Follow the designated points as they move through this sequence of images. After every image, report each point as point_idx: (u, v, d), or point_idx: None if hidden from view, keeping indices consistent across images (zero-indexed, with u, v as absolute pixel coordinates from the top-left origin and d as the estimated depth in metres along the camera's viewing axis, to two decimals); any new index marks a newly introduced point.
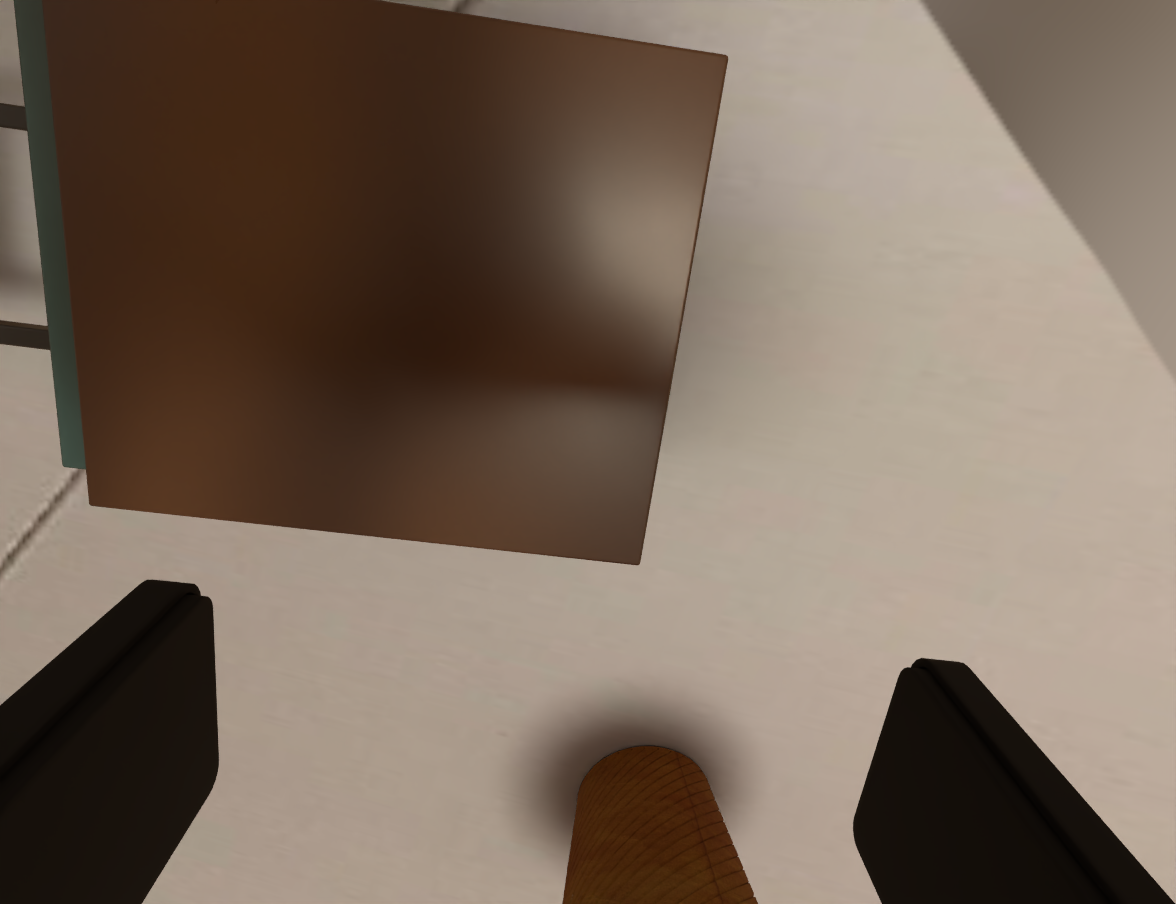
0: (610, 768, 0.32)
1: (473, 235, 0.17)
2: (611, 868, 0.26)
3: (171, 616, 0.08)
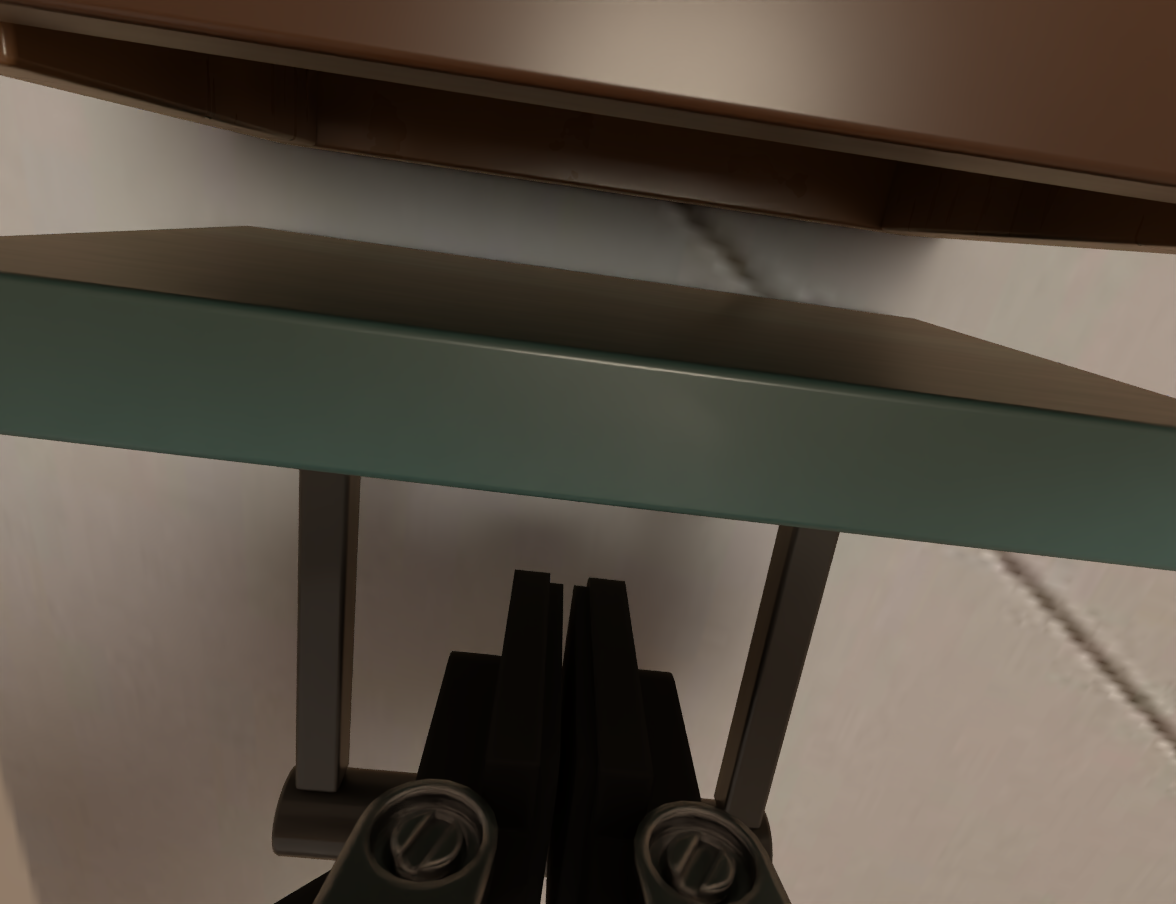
0: None
1: None
2: None
3: (554, 600, 0.10)
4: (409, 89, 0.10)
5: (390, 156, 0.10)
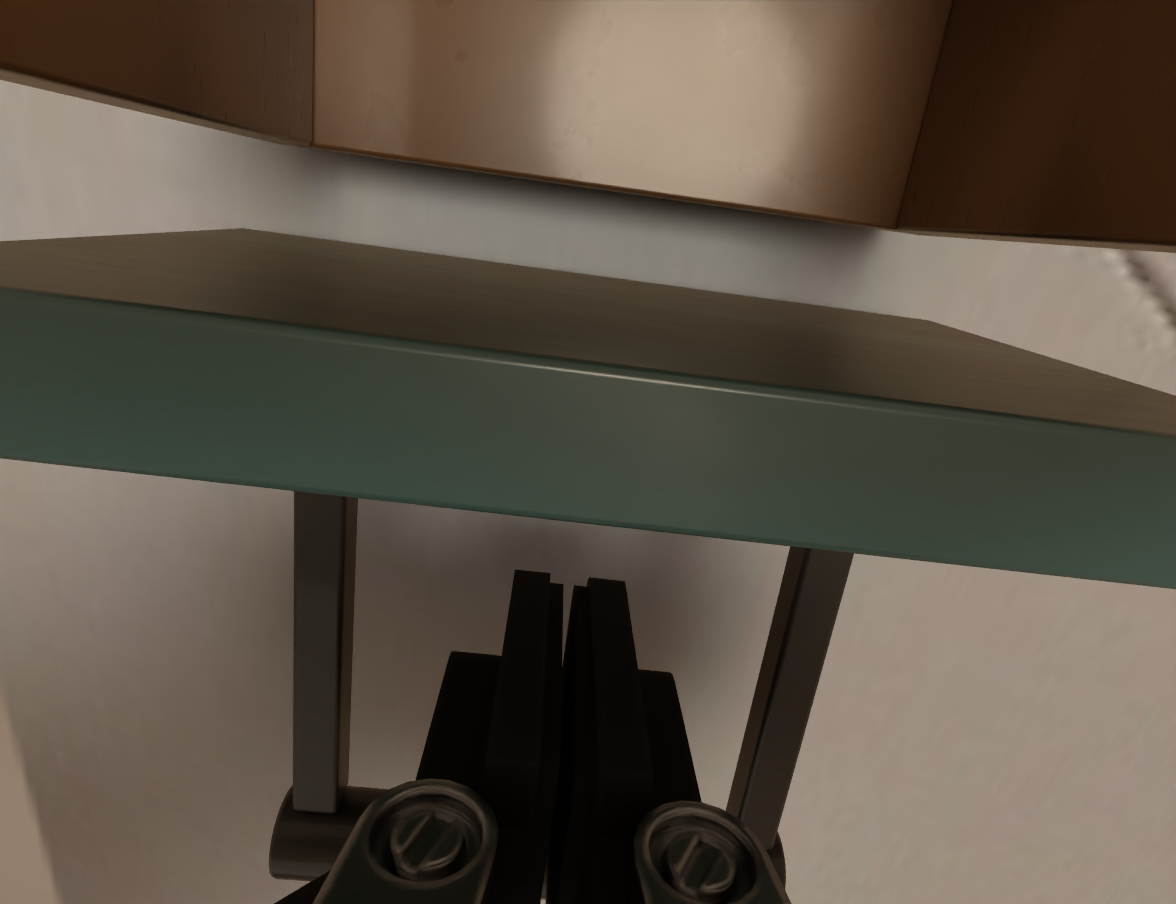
0: None
1: None
2: None
3: (554, 600, 0.10)
4: (407, 86, 0.10)
5: (388, 156, 0.10)
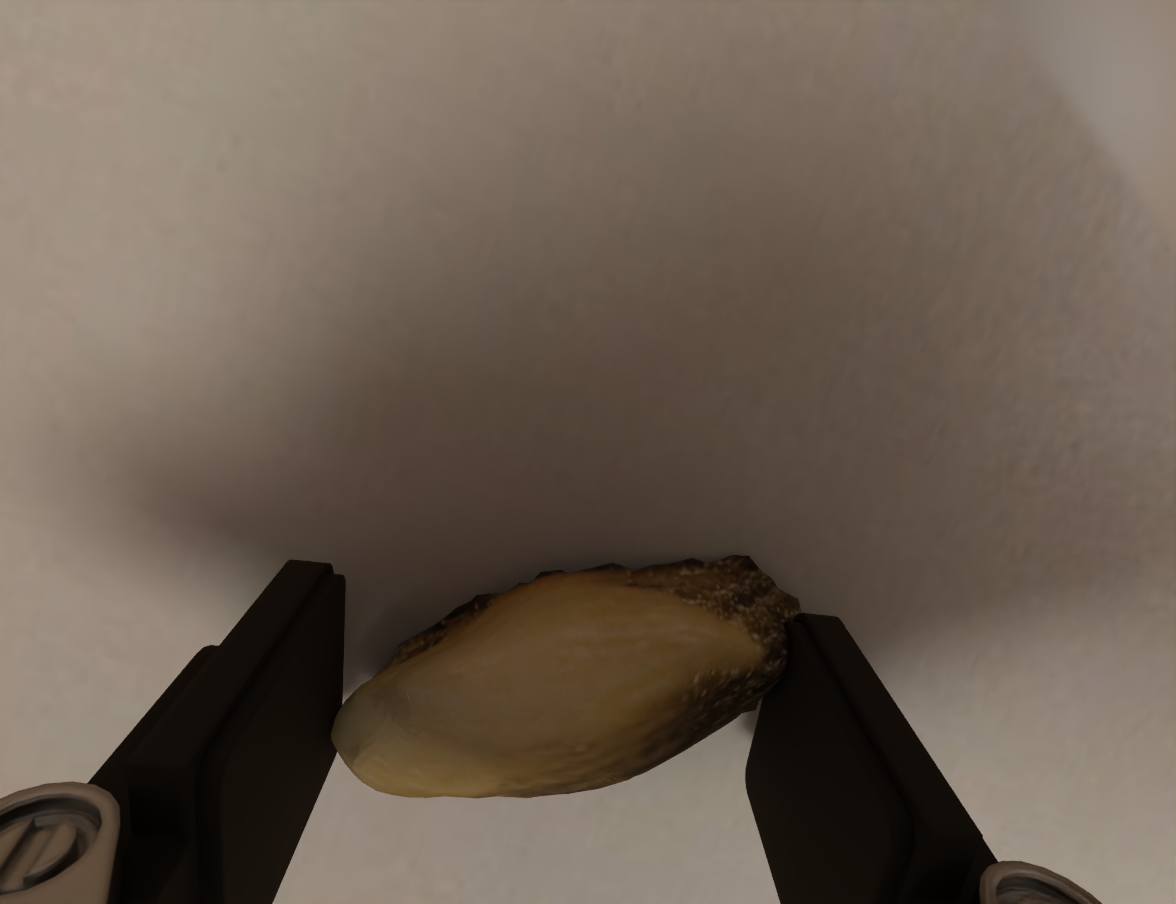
0: None
1: None
2: None
3: (319, 591, 0.09)
4: None
5: None
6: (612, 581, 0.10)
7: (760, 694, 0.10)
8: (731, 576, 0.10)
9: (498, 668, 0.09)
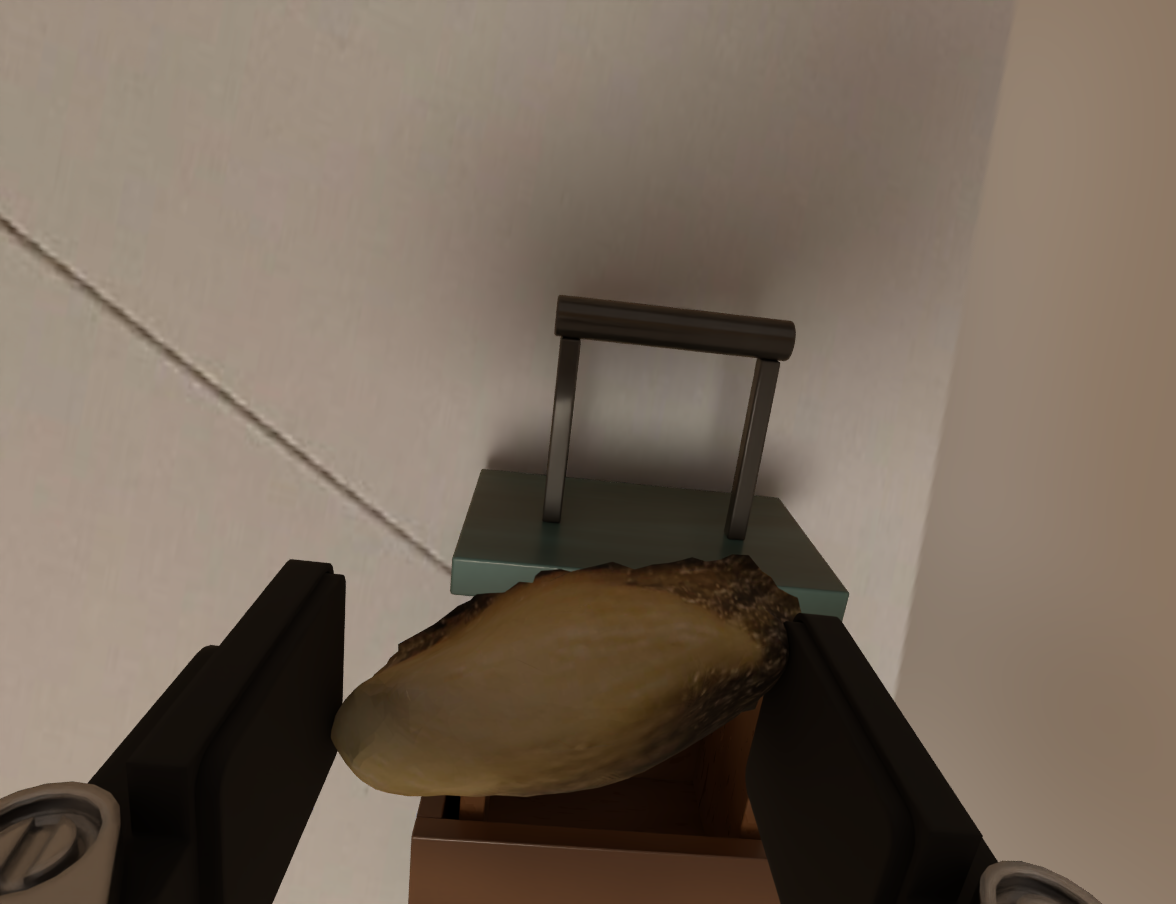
0: None
1: None
2: None
3: (319, 591, 0.09)
4: None
5: None
6: (612, 581, 0.10)
7: (760, 693, 0.10)
8: (731, 574, 0.10)
9: (498, 667, 0.09)
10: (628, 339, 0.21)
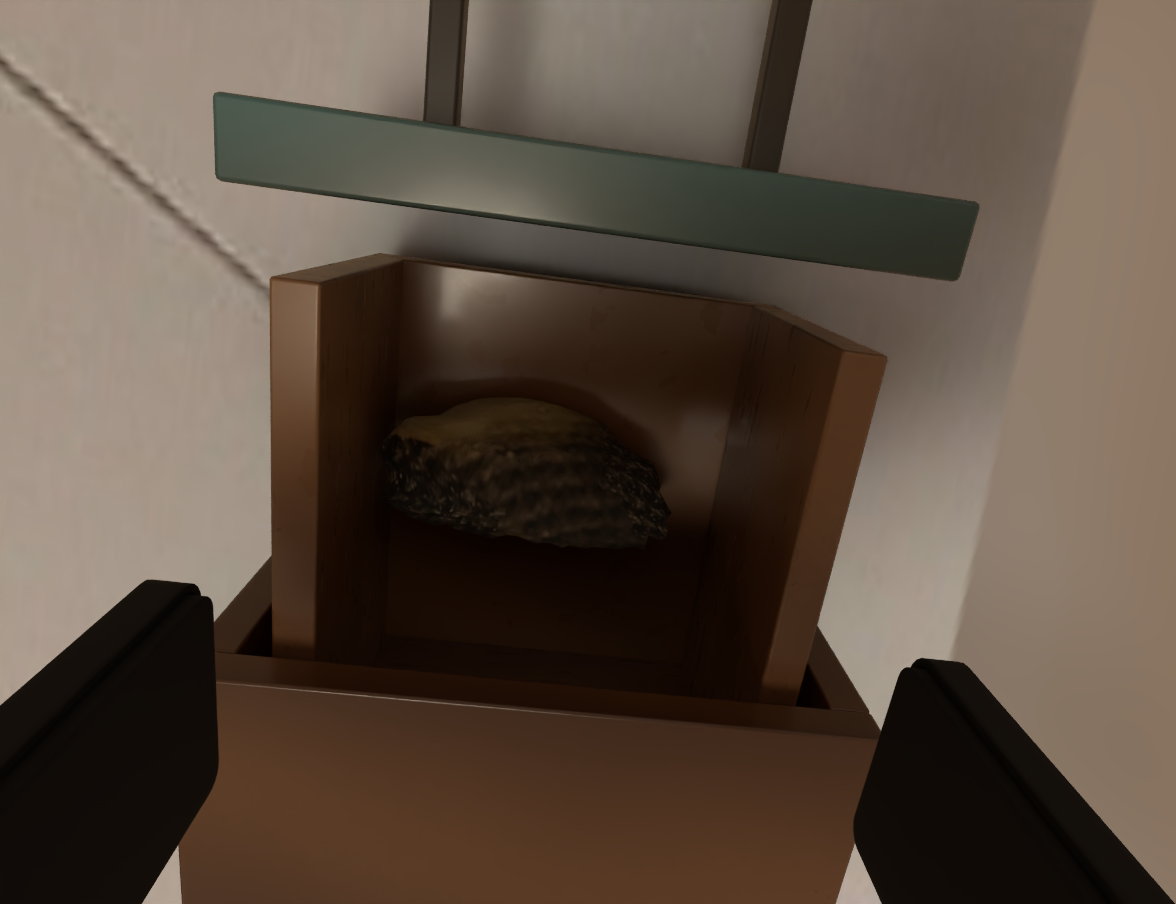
0: None
1: None
2: None
3: (171, 616, 0.08)
4: (695, 336, 0.18)
5: (710, 300, 0.17)
6: None
7: (640, 466, 0.17)
8: None
9: None
10: None
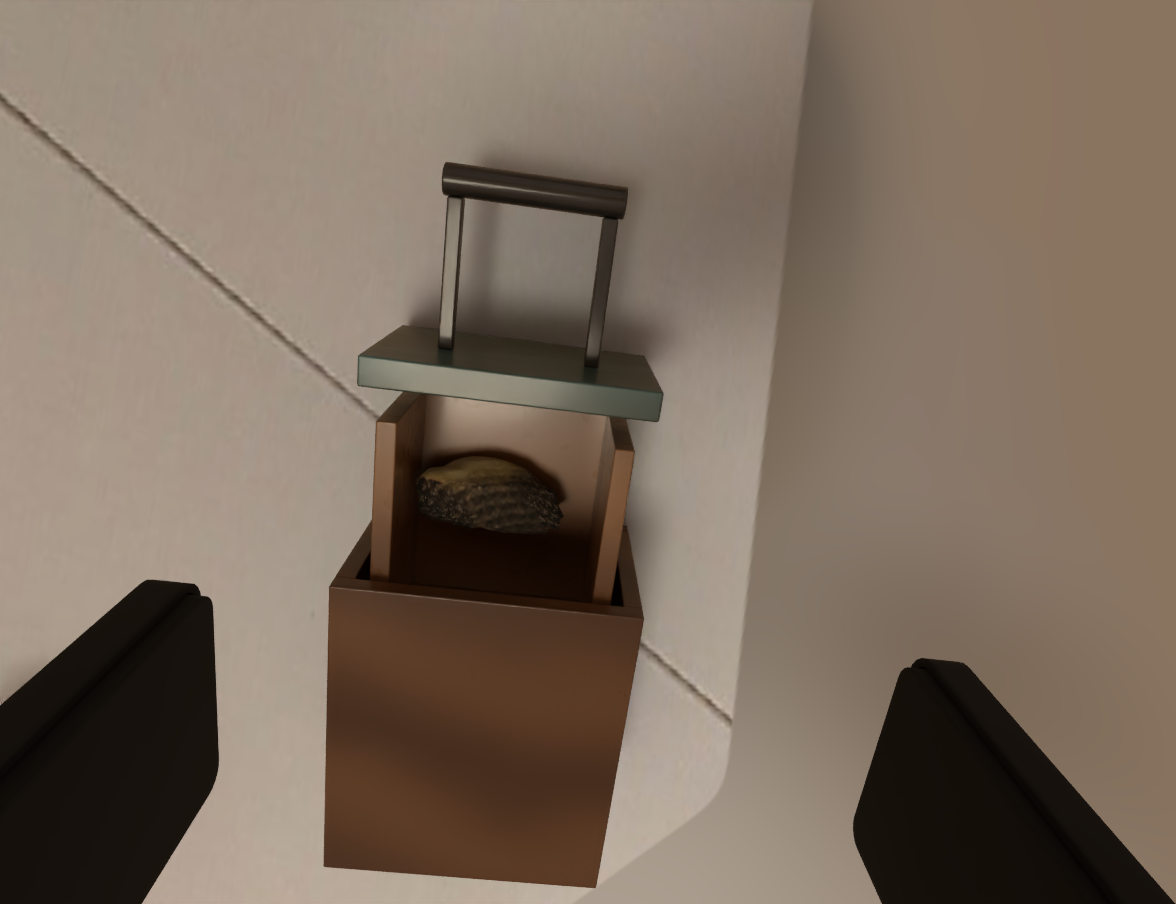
0: None
1: (510, 792, 0.32)
2: None
3: (170, 616, 0.08)
4: (578, 424, 0.34)
5: None
6: None
7: (546, 492, 0.33)
8: None
9: None
10: (499, 197, 0.27)
